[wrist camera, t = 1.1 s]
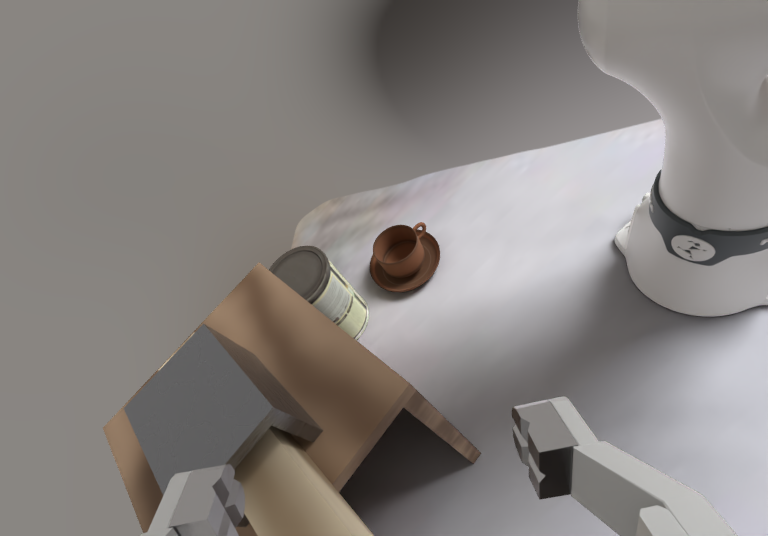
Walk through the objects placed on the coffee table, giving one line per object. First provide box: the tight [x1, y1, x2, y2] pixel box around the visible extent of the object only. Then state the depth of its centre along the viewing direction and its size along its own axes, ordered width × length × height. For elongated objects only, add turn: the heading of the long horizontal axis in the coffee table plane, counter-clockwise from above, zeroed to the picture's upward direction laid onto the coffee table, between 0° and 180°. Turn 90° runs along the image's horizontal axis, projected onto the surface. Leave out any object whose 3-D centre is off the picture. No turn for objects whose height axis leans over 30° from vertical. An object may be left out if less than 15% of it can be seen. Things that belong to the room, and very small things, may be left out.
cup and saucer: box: [370, 222, 440, 292], centre depth 64 cm, size 12×12×6 cm
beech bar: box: [159, 332, 374, 536], centre depth 26 cm, size 4×28×3 cm, turn 47°
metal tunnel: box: [124, 323, 323, 527], centre depth 28 cm, size 8×10×6 cm
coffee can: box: [269, 246, 369, 340], centre depth 60 cm, size 10×10×14 cm
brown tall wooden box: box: [103, 263, 481, 536], centre depth 41 cm, size 20×21×26 cm
